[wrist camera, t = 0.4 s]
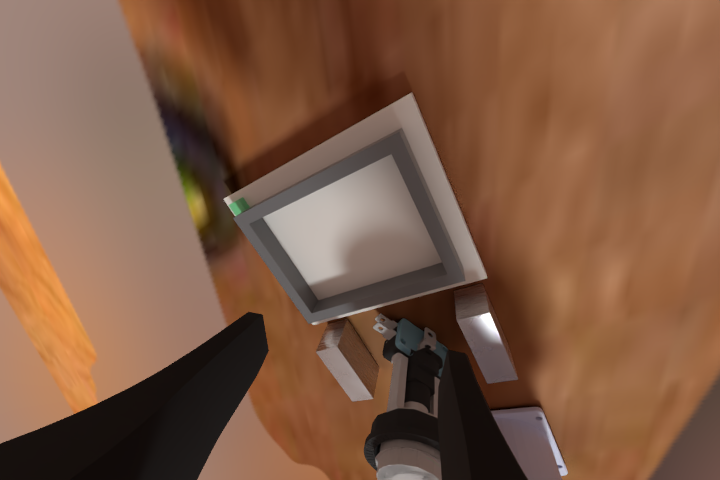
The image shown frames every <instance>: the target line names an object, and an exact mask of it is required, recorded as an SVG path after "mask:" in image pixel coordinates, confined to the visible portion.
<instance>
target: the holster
mask: <svg viewBox="0 0 720 480" xmlns="http://www.w3.org/2000/svg"><path fill="white" fill-rule="evenodd" d="M454 298H455V309H456V319H457V322H458V324H459V326H460V328H461V330H462V332H463V334H464V336H465V338H466V341H467V343H468V345H469V347H470V349H471V351H472V353H473V355H474V357H475V359H476V361H477V363H478V365H479V367H480V369H481V371H482V373H483V376H484V378H485V380H486V382H487V384H489V383H497V382H504V381H512V380H518V376H517V373H516V369H515V366H514V362H513V359H512V355H511V352H510V348H509V345H508V343H507V340H506V338H505V335H504V333H503V331H502V328H501V326H500V324H499V321H498V319H497V316H496V314H495V312H494V309H493V307H492V305H491V302H490V300H489V298H488V295H487V293H486V290H485V288H484V286H483V283H481V284H478V285H474V286H470V287H466V288H462V289H459V290H455V291H454ZM316 353H317V354H318V355H319V357H320V358H321V359H322V361H323V362H324V364H325V365H326V366H327V368H328V369H329V370H330V372H331V373H332V374H333V376H334V377H335V378H336V380H337V381H338V383H339V384H340V385H341V387H342V388H343V389H344V391H345V392H346V393H347V395H348V396H349V397H350V399H351V400H352V401H360V400H368V399H373V398H374V393H375V388H376V382H377V377H378V372H379V367H378V365H377V364H376V362H375V360H374V359H373V357H372V356H371V354H370V353H369V351H368V350H367V348H366V347H365V345H364V344H363V342H362V341H361V339H360V337H359V336H358V334H357V333H356V331H355V330H354V328H353V327H352V325H351V324H350V322H349V321H348V319H345V320H341V321H338V322H334V323H330V324H328V325H327V327H326V329H325V332H324V334H323V336H322V339H321V341H320V343H319V345H318V348H317V350H316Z"/></svg>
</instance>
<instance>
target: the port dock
mask: <svg viewBox="0 0 720 480" xmlns="http://www.w3.org/2000/svg"><path fill="white" fill-rule="evenodd" d="M224 201H225V202H226V204H227V205H228V206H229V208H230V209H231V211H232V212H233V213H234V215H235V217H234V218H233V219H234V220H235V222H236V223H237V224H238V226H239V227H240V229H241V230H242V231H243V233H244V234H245V236H246V237H247V238H248V240H249V241H250V243H251V244H252V245H253V247H254V248H255V250H256V251H257V252H258V254H259V255H260V256H261V258H262V259H263V261H264V262H265V263H266V265H267V266H268V268H269V269H270V270H271V272H272V273H273V275H274V276H275V277H276V279H277V280H278V282H279V283H280V284H281V286H282V287H283V289H284V290H285V291H286V293H287V294H288V296H289V297H290V298H291V300H292V301H293V303H294V304H295V305H296V307H297V308H298V309H299V311H300V312H301V314H302V315H303V316H304V318H305V319H306V321H307V322H308V323H309V324H310V323H312V324H313V325H316V324H319V323H323V322H327V321H330V320H334V319H338V318H342V317H345V316H349V315H353V314H357V313H360V312H364V311H368V310H371V309H375V308H379V307H383V306H386V305H390V304H394V303H397V302H401V301H405V300H409V299H412V298H416V297H420V296H423V295H427V294H431V293H435V292H438V291H442V290H446V289H450V288H453V287H457V286H461V285H464V284H468V283H472V282H476V281H479V280H483V279H487V274H486V271H485V268H484V265H483V263H482V261H481V258H480V256H479V253H478V251H477V248H476V246H475V243H474V241H473V239H472V236H471V234H470V231H469V229H468V226H467V224H466V221H465V219H464V217H463V214H462V212H461V209H460V207H459V204H458V202H457V200H456V197H455V195H454V192H453V190H452V187H451V185H450V182H449V180H448V178H447V175H446V173H445V170H444V168H443V165H442V163H441V161H440V158H439V156H438V153H437V151H436V148H435V146H434V143H433V141H432V139H431V136H430V134H429V131H428V129H427V126H426V124H425V121H424V119H423V117H422V114H421V112H420V109H419V107H418V104H417V102H416V100H415V97H414V95H413V92H412V93H410V94H408V95H406V96H404V97H403V98H401V99H399V100H397V101H396V102H394V103H392V104H390V105H389V106H387V107H385V108H383V109H381V110H380V111H378V112H376V113H374V114H373V115H371V116H369V117H367V118H366V119H364V120H362V121H360V122H359V123H357V124H355V125H353V126H351V127H350V128H348V129H346V130H344V131H343V132H341V133H339V134H337V135H336V136H334V137H332V138H330V139H329V140H327V141H325V142H323V143H321V144H320V145H318V146H316V147H314V148H313V149H311V150H309V151H307V152H306V153H304V154H302V155H300V156H298V157H297V158H295V159H293V160H291V161H290V162H288V163H286V164H284V165H283V166H281V167H279V168H277V169H276V170H274V171H272V172H270V173H268V174H267V175H265V176H263V177H261V178H260V179H258V180H256V181H254V182H253V183H251V184H249V185H247V186H246V187H244V188H242V189H240V190H238V191H237V192H235V193H233V194H231V195H230V196H228V197H226V198H224Z"/></svg>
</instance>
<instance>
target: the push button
mask: <svg viewBox="0 0 720 480" xmlns="http://www.w3.org/2000/svg"><path fill="white" fill-rule="evenodd" d="M381 318H383V319H385V321H381V320H380V319H381ZM375 320H376V321H378V322H377V323H376V324H375V325H374V326H373V328H374V329H375V330H376V331H378V332H379V333H381V334H382V335H383V337H384V338H386V339H387V340H386V341H385V343H384V349H383V356H384V358H386V359H387V360H389V361H390V362H392V363H393V371H392V378H391V385H390V392H389V400H388V407H387V412H386V413H383V414H380V415H378V416H377V417H376V419H375V420H374V422H373V424H372V429H371V433H370V434H369V435H368V437H367V439H366V441H365V446H364V455H365V458H366V460H367V461H368V463H369V464H370V465H371V466H372V467H373V468H374V469H375V470H376V471H377V479H378V480H442V475H441V461H440V447H439V433H438V418H437V415H438V386H439V382H440V378H441V374H442V370H443V366H444V362H445V358H446V354H447V350H448V349H447V347H446V346H444V345H443V344H441V343H439V342H438V341H436V334H435V333H434V332H433V331H432V330H430V329H429V328H427V327H425V328H424V331H422V330H421V329H419V328H418V327H416V326H415V325H413V324H412V323H411V322H409V321H408V320H406V319H404V318H403V319H401V320H400V321H399V322H398V323H396V322H395V321H394V320H392V321H391V320H389V319H388V318H387V317H385V316H384V315H382V314H379V315H378V316H377V317H376V318H375ZM378 327H383V330H380V329H378ZM428 332H429V333H430V334H431V335H432V337H431V336H429V335H428Z"/></svg>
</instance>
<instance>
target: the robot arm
mask: <svg viewBox="0 0 720 480" xmlns="http://www.w3.org/2000/svg"><path fill="white" fill-rule="evenodd" d="M268 351H269V350H268V344H267V338H266V332H265V326H264V321H263V315H262V314H257V313H252V312H248V313H246V314H245V315H243V316H242V317H241V318H239V319H238V320H236V321H235V322H233V323H232V324H231V325H229V326H228V327H226V328H225V329H224V330H222V331H221V332H219V333H218V334H216V335H215V336H213V337H212V338H211V339H209V340H208V341H206V342H205V343H203V344H202V345H200V346H199V347H197V348H196V349H194V350H193V351H191V352H190V353H188V354H186V355H185V356H183V357H182V358H180V359H179V360H177V361H175V362H174V363H172V364H171V365H169V366H168V367H166V368H164V369H162V370H161V371H159V372H157V373H156V374H154V375H152V376H150V377H149V378H147V379H145V380H143V381H141V382H139V383H138V384H136V385H134V386H132V387H130V388H128V389H126V390H125V391H122V392H120V393H118V394H116V395H114V396H112V397H110V398H108V399H106V400H104V401H102V402H100V403H98V404H96V405H94V406H91V407H89V408H87V409H85V410H83V411H80V412H78V413H76V414H74V415H71V416H69V417H67V418H64V419H62V420H60V421H57V422H55V423H52V424H50V425H48V426H45V427H43V428H40V429H38V430H35V431H33V432H30V433H27V434H25V435H22V436H19V437H17V438H14V439H11V440H9V441H6V442H3V443H1V444H0V480H197V479H198V477H199V474H200V472H201V470H202V469H203V466H204V465H205V463H206V461H207V459H208V456H209V455H210V453H211V451H212V449H213V447H214V445H215V443H216V441H217V440H218V438H219V436H220V434H221V433H222V431H223V429H224V428H225V426H226V425H227V423H228V421H229V420H230V418H231V416H232V415H233V413H234V412H235V410H236V409H237V407H238V405H239V404H240V402H241V400H242V399H243V397H244V396H245V394H246V393H247V391H248V389H249V388H250V386H251V384H252V383H253V381H254V379H255V378H256V376H257V374H258V372H259V370H260V368H261V366H262V364H263V362H264V360H265V357H266V355H267V353H268ZM437 418H438V433H439V447H440V461H441V475H442V480H562V478H561V476H564V475H567V474H568V471H567V468H566V466H565V463H564V461H563V459H562V456H561V454H560V451H559V449H558V446H557V444H556V442H555V439H554V437H553V434H552V432H551V429H550V427H549V424H548V422H547V420H546V417H545V415H544V412H543V410H542V409H541V408H539V407H526V408H516V409H506V410H495V411H491V410H490V408H489V406H488V404H487V402H486V400H485V398H484V396H483V393H482V391H481V389H480V387H479V384H478V382H477V380H476V377H475V375H474V372H473V370H472V367H471V364H470V362H469V359H468V356H467V355H466V354H465V353H461V352H456V351H450V350H447V354H446V358H445V362H444V366H443V370H442V374H441V378H440V382H439V386H438V415H437Z"/></svg>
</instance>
